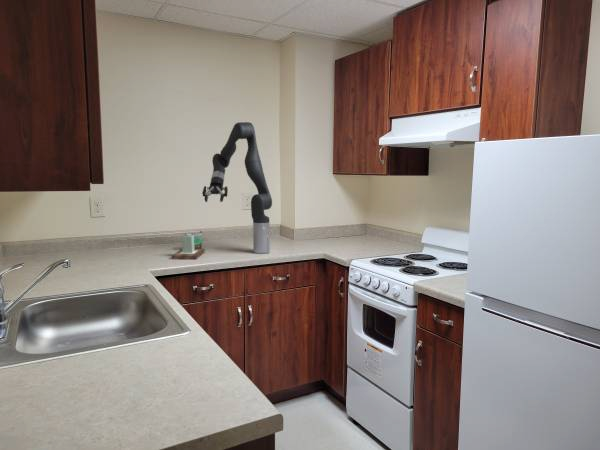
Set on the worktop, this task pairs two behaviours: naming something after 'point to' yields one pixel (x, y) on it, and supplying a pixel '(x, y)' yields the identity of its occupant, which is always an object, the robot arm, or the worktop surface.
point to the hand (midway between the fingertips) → (213, 201)
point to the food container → (197, 240)
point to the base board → (188, 254)
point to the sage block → (188, 243)
